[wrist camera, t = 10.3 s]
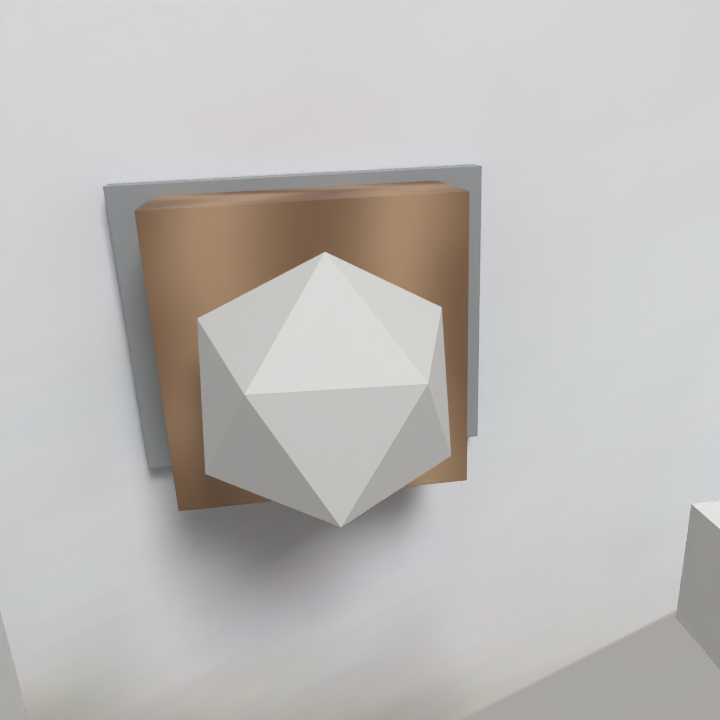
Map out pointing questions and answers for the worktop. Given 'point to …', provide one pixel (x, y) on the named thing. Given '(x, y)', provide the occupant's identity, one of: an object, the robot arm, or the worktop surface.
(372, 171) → the base plate
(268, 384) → the die
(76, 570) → the worktop surface
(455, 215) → the walnut brick
